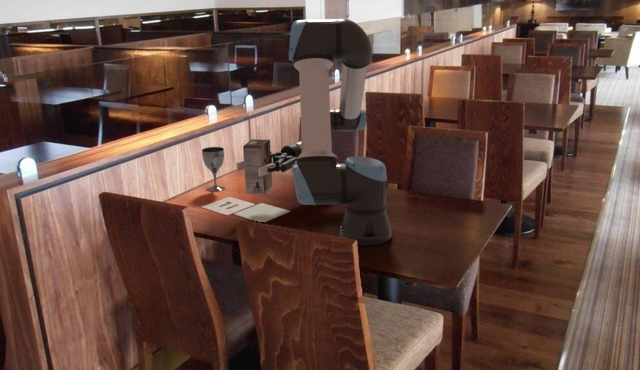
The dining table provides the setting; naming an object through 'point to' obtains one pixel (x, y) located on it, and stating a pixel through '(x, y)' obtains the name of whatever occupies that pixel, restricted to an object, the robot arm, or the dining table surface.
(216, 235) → the dining table surface
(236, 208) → the tile
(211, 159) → the wine glass
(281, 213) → the set down mat
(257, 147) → the coffee box
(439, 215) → the dining table surface
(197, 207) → the dining table surface
